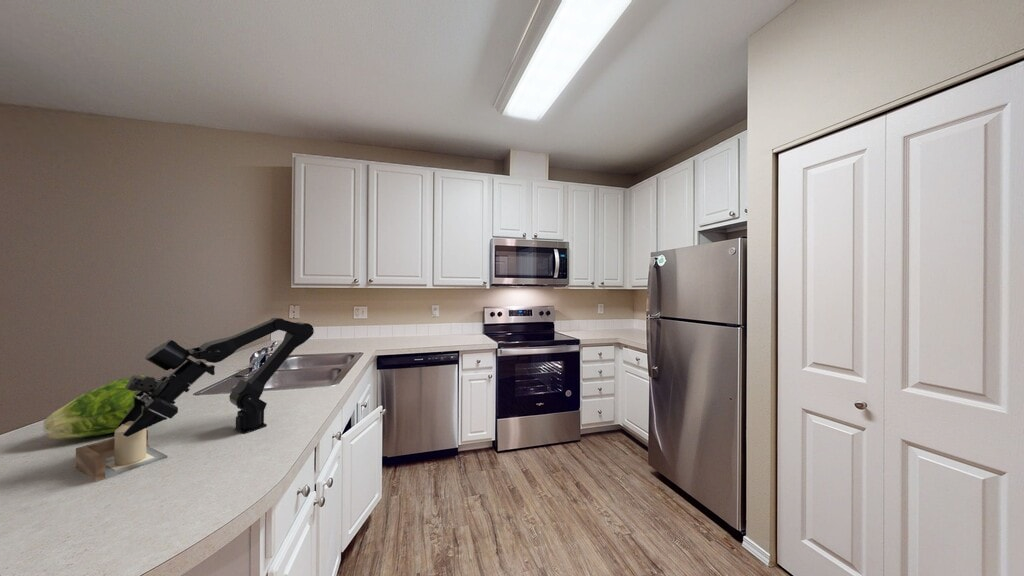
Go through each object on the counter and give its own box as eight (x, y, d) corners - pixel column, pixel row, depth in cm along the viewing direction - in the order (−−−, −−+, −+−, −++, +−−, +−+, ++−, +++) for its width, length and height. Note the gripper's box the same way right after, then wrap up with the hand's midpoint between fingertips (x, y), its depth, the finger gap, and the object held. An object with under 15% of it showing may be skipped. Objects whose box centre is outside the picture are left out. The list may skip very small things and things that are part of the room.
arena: (145, 446, 96) (145, 429, 96) (167, 457, 90) (167, 439, 90) (75, 467, 84) (75, 448, 84) (95, 481, 79) (95, 460, 79)
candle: (117, 467, 83) (117, 428, 83) (112, 461, 86) (112, 423, 86) (148, 458, 88) (149, 421, 88) (143, 452, 91) (143, 416, 91)
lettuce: (55, 464, 97) (46, 415, 102) (168, 425, 115) (156, 385, 120) (38, 443, 87) (30, 391, 92) (164, 404, 105) (151, 362, 110)
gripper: (145, 358, 95) (82, 408, 86) (160, 368, 85) (91, 426, 76) (183, 379, 102) (128, 427, 93) (201, 391, 92) (141, 446, 82)
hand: (122, 431), depth 86 cm, fingers open, 8 cm apart
